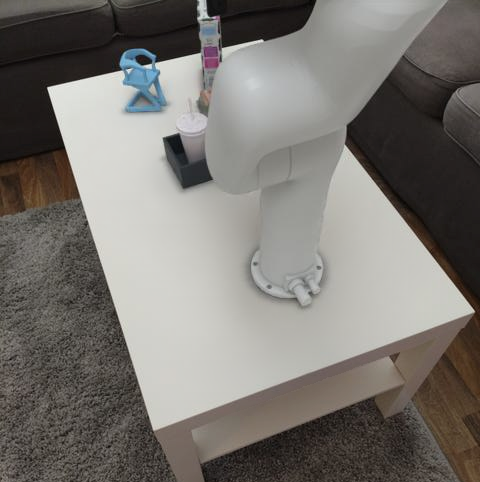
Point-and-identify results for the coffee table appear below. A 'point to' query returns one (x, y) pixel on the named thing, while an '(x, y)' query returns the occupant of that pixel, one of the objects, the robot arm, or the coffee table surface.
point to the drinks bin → (185, 163)
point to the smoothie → (192, 134)
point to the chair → (142, 80)
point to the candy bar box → (209, 43)
